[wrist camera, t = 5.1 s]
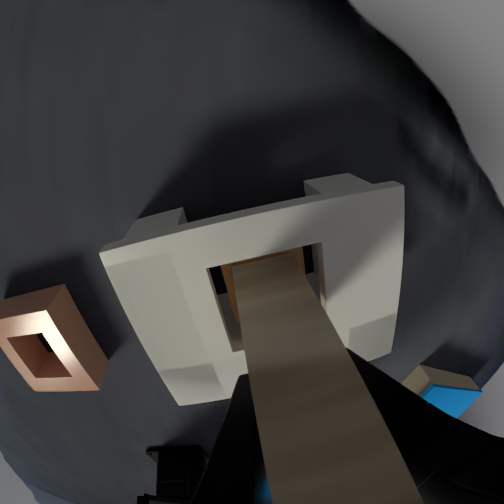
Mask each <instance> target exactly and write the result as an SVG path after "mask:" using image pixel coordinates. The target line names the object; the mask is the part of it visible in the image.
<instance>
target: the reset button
mask: <svg viewBox="0 0 504 504" xmlns="http://www.w3.org/2000/svg"><path fill="white" fill-rule="evenodd" d="M289 253H292V254H293V256H294V258H295V260H296V261H297V263H298V265H299V266H300V268H301V270H302V271H303V273H304V275H305V277H306V274H305V265H304V256H303V248H302V247H297V248H293V249H289V250H284V251H280V252H276V253H271V254H267V255H263V256H258V257H254V258H250V259H245V260H241V261H237V262H232V263H228V264H224V265H220V266H221V270H222V273H223V277H224V281H225V284H226V288H227V291H228V295H229V298H230V302H231V305H232V309H233V312H234V316H235V319H236V322H239V321H240V320H239V314H238V307H237V301H236V295H235V288H234V281H233V275H232V268H231V267H232V266H237V265H241V264H246V263H250V262H254V261H259V260H263V259H267V258H272V257H276V256H280V255H285V254H289Z"/></svg>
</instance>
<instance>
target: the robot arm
mask: <svg viewBox="0 0 504 504" xmlns="http://www.w3.org/2000/svg"><path fill="white" fill-rule="evenodd" d="M346 349H347V351H348V353H349V355H350V357H351V359H352V361H353V362H354V364H355V366H356V368H357V370H358V372H359V374H360V375H361V377H362V379H363V381H364V383H365V385H366V387H367V389H368V391H369V392H370V394H371V396H372V398H373V400H374V402H375V404H376V406H377V408H378V410H379V412H380V414H381V416H382V418H383V419H384V421H385V423H386V425H387V427H388V429H389V431H390V433H391V435H392V437H393V439H394V441H395V443H396V445H397V447H398V449H399V451H400V454H401V456H402V458H403V460H404V462H405V464H406V466H407V468H408V470H409V472H410V474H411V476H412V478H413V481H414V483H415V485H416V487H417V489H418V491H419V493H420V496H421V498H422V500H423V502H424V504H504V438H502V437H497V436H493V435H491V434H489V433H487V432H484V431H482V430H480V429H478V428H476V427H473V426H471V425H469V424H467V423H464V422H462V421H460V420H458V419H457V418H455V417H453V416H451V415H449V414H447V413H446V412H444V411H442V410H441V409H439V408H437V407H436V406H434V405H433V404H431V403H428V402H427V401H426V400H425V399H423V398H422V397H420V396H419V395H417V394H416V393H414V392H413V391H411V390H410V389H408V388H407V387H405V386H404V385H402V384H401V383H399V382H398V381H396V380H395V379H393V378H392V377H390V376H389V375H387V374H386V373H384V372H383V371H381V370H380V369H378V368H377V367H375V366H374V365H372V364H371V363H369V362H368V361H366V360H365V359H363V358H362V357H360V356H359V355H358V354H356V353H355V352H353V351H352V350H350V349H349V348H346ZM146 454H147V455H148V456H149V457H150V458H152V459H153V460H154V461H155V462H156V463H157V482H156V496H153V495H149V494H145V493H144V496H137V504H273V503H272V498H271V493H270V488H269V483H268V478H267V473H266V468H265V463H264V458H263V452H262V447H261V442H260V437H259V431H258V426H257V420H256V415H255V409H254V403H253V398H252V392H251V386H250V381H249V375H248V373H247V374H242V375H239V377H238V379H237V382H236V385H235V387H234V390H233V393H232V396H231V399H230V402H229V405H228V407H227V410H226V413H225V416H224V419H223V421H222V424H221V427H220V430H219V432H218V435H217V438H216V441H215V443H214V446H213V449H212V451H211V454H210V457H208V455H207V454H206V453H205V452H204V451H203V449H202V448H201V447H199V446H191V447H179V448H163V449H147V450H146Z"/></svg>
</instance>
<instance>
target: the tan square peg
mask: <svg viewBox="0 0 504 504" xmlns="http://www.w3.org/2000/svg"><path fill="white" fill-rule="evenodd" d="M231 268H232V275H233V281H234V288H235V295H236V301H237V307H238V314H239V320H240V326H241V333H242V339H243V345H244V351H245V357H246V363H247V369H248V375H249V381H250V386H251V392H252V398H253V403H254V409H255V415H256V420H257V426H258V431H259V437H260V442H261V447H262V452H263V458H264V463H265V468H266V473H267V478H268V483H269V488H270V493H271V498H272V503H273V504H424V502H423V500H422V498H421V496H420V493H419V491H418V489H417V487H416V485H415V483H414V481H413V478H412V476H411V474H410V472H409V470H408V468H407V466H406V464H405V462H404V460H403V458H402V456H401V454H400V451H399V449H398V447H397V445H396V443H395V441H394V439H393V437H392V435H391V433H390V431H389V429H388V427H387V425H386V423H385V421H384V419H383V418H382V416H381V414H380V412H379V410H378V408H377V406H376V404H375V402H374V400H373V398H372V396H371V394H370V392H369V391H368V389H367V387H366V385H365V383H364V381H363V379H362V377H361V375H360V374H359V372H358V370H357V368H356V366H355V364H354V362H353V361H352V359H351V357H350V355H349V353H348V351H347V349H346V348H345V346H344V344H343V342H342V340H341V339H340V337H339V335H338V333H337V331H336V329H335V328H334V326H333V324H332V322H331V321H330V319H329V317H328V315H327V313H326V312H325V310H324V308H323V306H322V305H321V303H320V301H319V299H318V298H317V296H316V294H315V292H314V291H313V289H312V287H311V285H310V284H309V282H308V280H307V278H306V277H305V275H304V273H303V271H302V270H301V268H300V266H299V265H298V263H297V261H296V260H295V258H294V256H293V254H292V253H289V254H285V255H280V256H276V257H272V258H267V259H263V260H259V261H254V262H250V263H246V264H241V265H237V266H232V267H231Z"/></svg>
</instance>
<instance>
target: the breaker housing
mask: <svg viewBox="0 0 504 504" xmlns="http://www.w3.org/2000/svg"><path fill="white" fill-rule="evenodd" d="M303 182H304V189H305V197H301V198H296V199H291V200H287V201H282V202H277V203H272V204H267V205H263V206H258V207H254V208H249V209H245V210H240V211H236V212H231V213H227V214H223V215H218V216H214V217H210V218H206V219H201V220H197V221H193V222H189V223H187V220H186V216H185V213H184V209H183V207H181V208H177V209H173V210H169V211H166V212H162V213H158V214H154V215H151V216H147V217H143V218H140V219H136V221H135V222H134V224H133V225H132V227H131V228H130V229H129V231H128V232H127V234H126V235H125V237H124V238H123V240H120V241H116V242H113V243H109V244H105V245H104V247H103V248H102V249H101V251H100V252H99V255H100V257H101V260H102V262H103V265H104V267H105V269H106V272H107V274H108V276H109V279H110V281H111V283H112V285H113V287H114V290H115V292H116V294H117V296H118V298H119V300H120V302H121V304H122V307H123V309H124V311H125V313H126V315H127V317H128V319H129V321H130V323H131V325H132V326H133V328H134V330H135V332H136V334H137V336H138V338H139V340H140V342H141V343H142V345H143V347H144V349H145V351H146V352H147V354H148V356H149V358H150V359H151V361H152V363H153V365H154V366H155V368H156V370H157V371H158V373H159V375H160V376H161V378H162V380H163V381H164V383H165V384H166V386H167V388H168V389H169V391H170V392H171V394H172V396H173V397H174V399H175V400H176V402H177V403H178V405H179V406H182V405H190V404H197V403H204V402H211V401H217V400H223V399H229V398H231V396H232V393H233V390H234V387H235V385H236V382H237V379H238V377H239V375H242V374H247V373H248V369H247V363H246V357H245V351H244V345H243V339H242V333H241V326H240V321H239V322H236V319H235V316H234V312H233V309H232V305H231V302H230V298H229V295H228V293H224V294H219V295H217V294H216V290H215V287H214V284H213V280H212V277H211V274H210V270H209V268H210V267H215V266H219V265H224V264H228V263H232V262H237V261H241V260H245V259H250V258H254V257H258V256H263V255H267V254H271V253H276V252H280V251H284V250H289V249H293V248H297V247H302V246H306V245H310V244H311V246H312V256H313V266H314V272H313V273H309V274H306V278H307V280H308V282H309V284H310V285H311V287H312V289H313V291H314V292H315V294H316V296H317V298H318V299H319V301H320V303H321V305H322V306H323V308H324V310H325V312H326V313H327V315H328V317H329V319H330V321H331V322H332V324H333V326H334V328H335V329H336V331H337V333H338V335H339V337H340V339H341V340H342V342H343V344H344V346H345V348H349V349H350V350H352V351H353V352H355V353H356V354H358V355H359V356H360V357H362V358H363V359H365V360H366V361H370V360H373V359H376V358H379V357H381V356H384V355H387V354H389V353H391V349H392V344H393V338H394V332H395V325H396V319H397V311H398V303H399V295H400V286H401V275H402V262H403V246H404V210H405V200H404V185H403V184H400V183H398V182H395V181H389V182H383V183H377V184H372V183H369V182H367V181H365V180H363V179H361V178H358V177H356V176H354V175H352V174H349V173H344V174H338V175H332V176H326V177H320V178H315V179H309V180H304V181H303Z"/></svg>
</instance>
